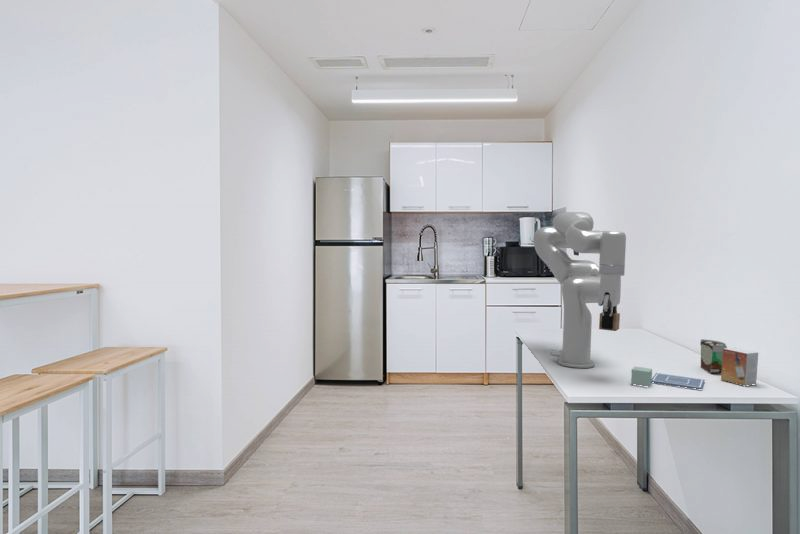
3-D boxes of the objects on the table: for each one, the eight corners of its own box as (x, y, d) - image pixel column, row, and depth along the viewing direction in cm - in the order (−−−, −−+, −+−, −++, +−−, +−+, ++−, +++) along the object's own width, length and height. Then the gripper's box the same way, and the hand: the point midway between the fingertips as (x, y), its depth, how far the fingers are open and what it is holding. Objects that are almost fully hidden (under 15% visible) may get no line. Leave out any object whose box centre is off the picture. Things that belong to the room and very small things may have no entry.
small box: (720, 380, 171) (722, 348, 170) (732, 379, 173) (733, 347, 172) (745, 387, 163) (746, 353, 163) (756, 385, 165) (758, 352, 165)
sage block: (631, 385, 163) (631, 369, 163) (634, 382, 167) (634, 366, 167) (648, 388, 160) (649, 372, 160) (651, 384, 164) (652, 368, 164)
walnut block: (599, 329, 168) (599, 313, 167) (602, 327, 172) (603, 311, 171) (615, 331, 165) (616, 315, 165) (619, 328, 169) (619, 313, 169)
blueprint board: (650, 383, 166) (650, 380, 166) (656, 375, 176) (656, 372, 176) (701, 390, 158) (701, 387, 158) (704, 382, 168) (704, 379, 168)
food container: (732, 376, 176) (733, 346, 176) (712, 375, 177) (713, 345, 177) (717, 367, 188) (719, 340, 188) (699, 366, 189) (700, 339, 189)
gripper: (605, 268, 176) (603, 322, 177) (592, 271, 162) (590, 329, 163) (629, 269, 172) (626, 325, 173) (618, 272, 158) (615, 332, 159)
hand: (609, 326), depth 168 cm, fingers closed on walnut block, 4 cm apart
